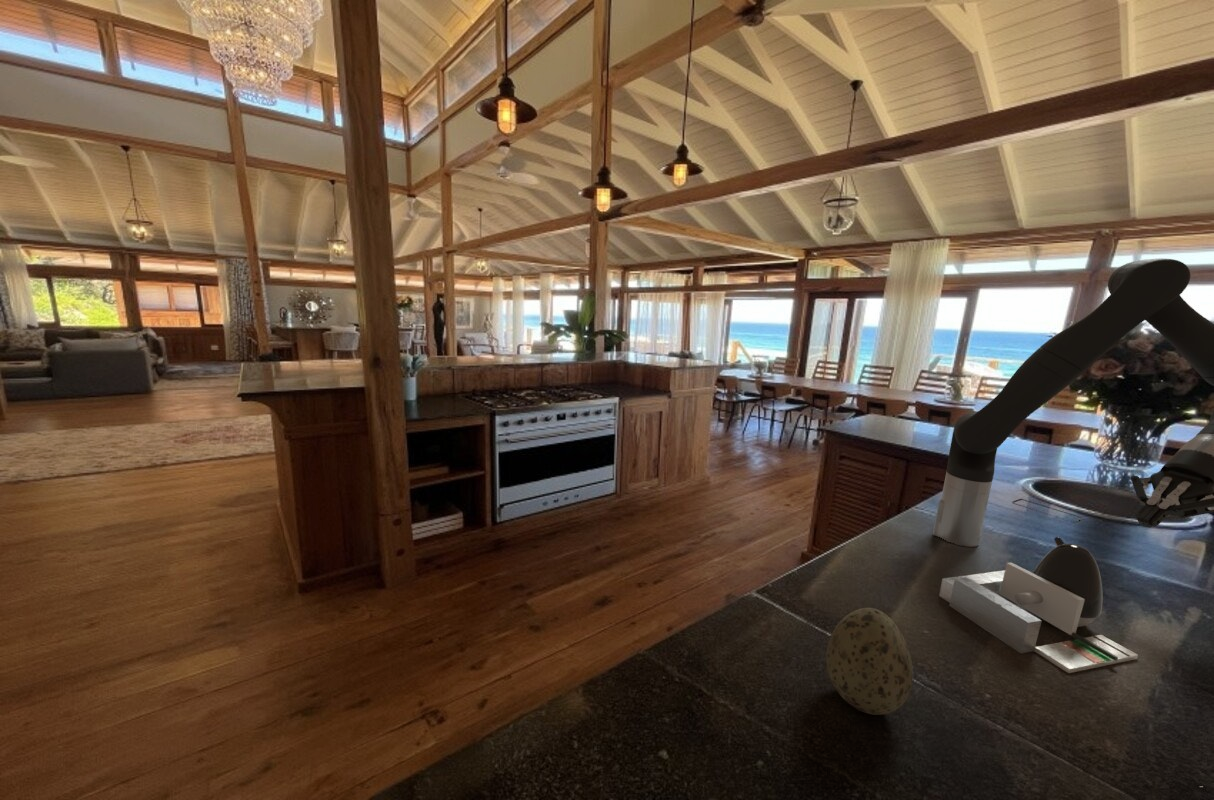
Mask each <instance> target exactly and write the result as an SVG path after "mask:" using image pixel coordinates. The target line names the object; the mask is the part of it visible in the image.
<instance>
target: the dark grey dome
mask: <svg viewBox="0 0 1214 800" xmlns="http://www.w3.org/2000/svg"><path fill="white" fill-rule="evenodd" d="M1053 540H1054V543H1055V544H1056V546H1054V548H1052V549H1051V550H1049V551H1048V552H1047V553H1046V554H1045V556H1044V557H1042V559H1041V560H1040V562H1038V564H1037V565H1036V567H1035V569H1034V570H1033V572H1032V573H1033V574H1035V575H1037V576H1039V577H1041V578H1043V579H1045V580H1047V581H1049V582H1051V583H1053V584H1055V585H1057V586H1059V587H1061V588H1063V589H1065V590H1067V591H1069V592H1071V593H1073V594H1075V595H1077V596H1079V597H1081V598H1083V599H1085V600H1084V604H1083V608H1082V611H1081V615H1080V619H1079V622H1078V626H1077V628H1079V627H1085V626H1087V625H1090V624H1092V623H1093V622H1094V621H1095V620H1096V618H1098V617H1100V616H1101V614H1102V610H1103V595H1104V594H1103V585H1102V584H1103V583H1102V577H1101V574H1100V568H1099V566H1098V563H1097V561H1096V559H1095V558H1094V555H1093V554H1092V553H1091V552H1090V551H1089V550H1088V549H1087V548H1085V547H1083V546H1081V545H1078V544H1075V543H1065V542H1064V541H1063V538H1061V537H1060V536H1059V537H1058V536H1055V537H1054V538H1053Z"/></svg>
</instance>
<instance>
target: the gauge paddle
mask: <svg viewBox="0 0 1214 800" xmlns="http://www.w3.org/2000/svg"><path fill="white" fill-rule="evenodd" d="M1004 570H1005V573H1004V577H1003V581H1002V586H1001V590H1000V595H1002V596H1003V597H1005V598H1004V599H1006V600H1008V601H1009V602H1011V603H1013V604H1015V605H1016V606H1018V607H1020V608H1023V610H1025V611H1027V612H1029V613H1030V614H1032V615H1034V616H1035V617H1037V618H1039V619H1042V620H1043V621H1044V622H1047V623H1049V624H1051V625H1052V626H1054V627H1055V628H1057V629H1059V630H1060V631H1063V632H1064V633H1066V634H1068V635H1069V636H1071V637H1073V638H1074V639H1078V640H1080V641H1082V642H1083V643H1085V644H1087V645H1088V646H1090V647H1092V648H1094V649H1095V650H1097V651H1099V652H1101V653H1102V654H1104V655H1106V656H1108V657H1109V658H1111V659H1113V660H1115V661H1117V659H1118V657H1117V656H1115V655H1113V654H1112V653H1110V652H1108V651H1106V650H1104V649H1103V648H1101V647H1099V646H1097V645H1096V644H1094V643H1092V642H1090V641H1089V640H1087V639H1085V638H1086V637H1083V636H1082V635H1079V634H1078V633H1077V629H1078V627H1077V626H1078V622H1079V619H1080V615H1081V611H1082V608H1083V604H1084V600H1085V599H1083V598H1081V597H1079V596H1077V595H1075V594H1073V593H1071V592H1069V591H1067V590H1065V589H1063V588H1061V587H1059V586H1057V585H1055V584H1053V583H1051V582H1049V581H1047V580H1045V579H1043V578H1041V577H1039V576H1037V575H1035V574H1033V572H1031V571H1029V570H1027V569H1025V568H1024V567H1021V566H1019V565H1017V564H1016V563H1013V562H1006V565H1005V569H1004Z"/></svg>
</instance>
